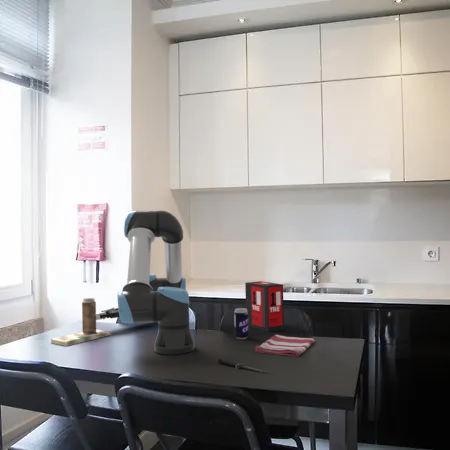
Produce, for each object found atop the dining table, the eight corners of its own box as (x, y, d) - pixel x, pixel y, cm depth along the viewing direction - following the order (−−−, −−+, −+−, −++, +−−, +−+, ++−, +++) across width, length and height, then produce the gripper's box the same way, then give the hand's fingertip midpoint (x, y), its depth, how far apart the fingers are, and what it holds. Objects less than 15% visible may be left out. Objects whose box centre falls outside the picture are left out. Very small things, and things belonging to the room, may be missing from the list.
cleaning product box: (283, 329, 204) (283, 284, 205) (268, 332, 200) (267, 286, 200) (261, 323, 218) (260, 281, 218) (246, 325, 213) (245, 282, 214)
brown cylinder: (90, 331, 200) (89, 297, 200) (101, 333, 195) (100, 298, 195) (81, 333, 196) (81, 298, 196) (92, 335, 192) (91, 299, 192)
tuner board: (95, 332, 205) (95, 328, 205) (110, 335, 199) (110, 331, 199) (51, 342, 187) (51, 338, 187) (65, 346, 181) (65, 341, 181)
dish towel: (253, 353, 167) (253, 346, 167) (275, 339, 188) (275, 332, 188) (298, 358, 160) (298, 350, 160) (315, 342, 181) (315, 336, 181)
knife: (288, 373, 142) (280, 375, 138) (288, 379, 142) (280, 381, 138) (224, 356, 156) (215, 358, 152) (223, 362, 156) (214, 364, 152)
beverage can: (238, 340, 185) (238, 310, 185) (232, 337, 190) (231, 308, 190) (251, 338, 188) (250, 309, 188) (244, 335, 193) (243, 307, 193)
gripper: (143, 318, 214) (102, 327, 195) (124, 315, 222) (83, 324, 203) (143, 302, 214) (102, 310, 195) (124, 300, 222) (83, 307, 203)
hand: (92, 317), depth 199 cm, fingers closed
